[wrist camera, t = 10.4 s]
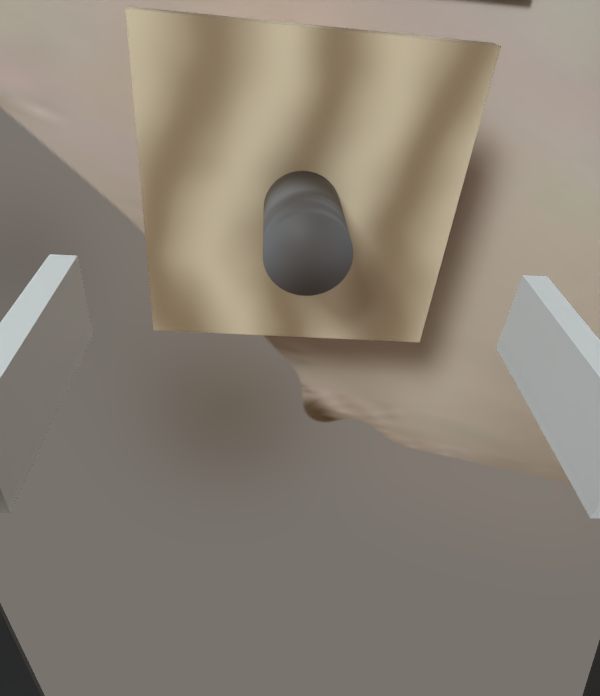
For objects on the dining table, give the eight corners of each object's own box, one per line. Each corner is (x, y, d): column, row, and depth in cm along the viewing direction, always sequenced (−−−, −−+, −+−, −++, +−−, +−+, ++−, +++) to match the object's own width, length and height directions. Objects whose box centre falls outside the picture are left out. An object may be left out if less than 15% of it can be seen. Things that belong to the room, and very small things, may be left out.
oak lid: (492, 42, 27) (553, 67, 21) (415, 332, 38) (442, 401, 32) (130, 6, 26) (90, 23, 20) (156, 320, 36) (135, 390, 30)
